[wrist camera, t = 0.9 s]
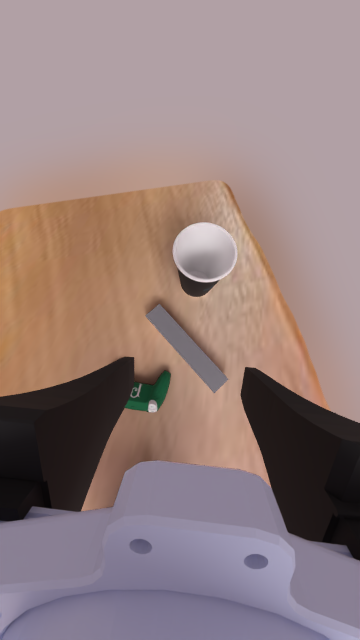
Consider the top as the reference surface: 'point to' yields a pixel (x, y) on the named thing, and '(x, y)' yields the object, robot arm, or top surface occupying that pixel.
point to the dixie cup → (203, 256)
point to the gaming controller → (149, 394)
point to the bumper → (187, 348)
